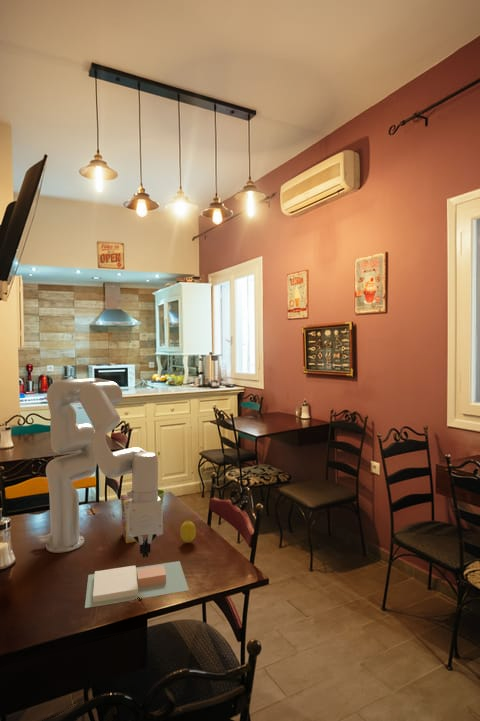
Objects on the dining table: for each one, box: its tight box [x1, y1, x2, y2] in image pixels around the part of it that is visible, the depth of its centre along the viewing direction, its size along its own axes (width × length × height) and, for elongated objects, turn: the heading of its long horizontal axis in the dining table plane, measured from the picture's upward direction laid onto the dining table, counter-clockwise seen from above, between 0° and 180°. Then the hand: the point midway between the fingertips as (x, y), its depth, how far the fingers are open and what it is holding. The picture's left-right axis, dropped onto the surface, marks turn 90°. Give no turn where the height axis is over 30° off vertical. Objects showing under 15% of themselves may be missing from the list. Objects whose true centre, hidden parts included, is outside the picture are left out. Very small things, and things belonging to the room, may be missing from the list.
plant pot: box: [158, 488, 166, 505], centre depth 184 cm, size 9×9×9 cm
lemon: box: [179, 520, 197, 544], centre depth 155 cm, size 6×6×8 cm
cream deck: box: [93, 565, 138, 602], centre depth 127 cm, size 12×14×2 cm
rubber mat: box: [84, 560, 190, 609], centre depth 128 cm, size 28×18×1 cm, turn 106°
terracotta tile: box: [137, 565, 166, 588], centre depth 129 cm, size 8×6×2 cm
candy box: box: [120, 493, 137, 544], centre depth 159 cm, size 9×4×15 cm, turn 23°
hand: (145, 555), depth 129 cm, fingers closed
